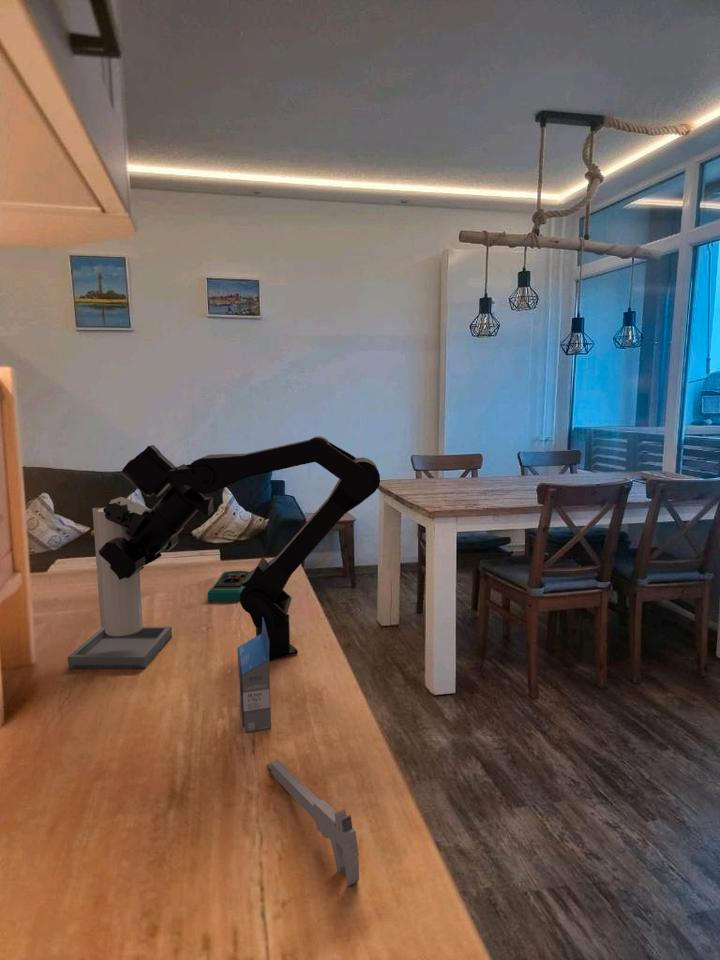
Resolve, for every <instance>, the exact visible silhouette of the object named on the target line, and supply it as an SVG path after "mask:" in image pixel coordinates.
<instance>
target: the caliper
mask: <svg viewBox="0 0 720 960" xmlns="http://www.w3.org/2000/svg"><path fill="white" fill-rule="evenodd" d="M266 766H267V767H268V769H269V770H270V772H271V774H272V776H273V777H274V779H275V780H276V781H277V782H278V783H279V784H280V785H281V786H282V788H284V789H285V790H286V791H287V792H288V793H289V794H290V796H291V797H292V798H293V799H294V800H295V801H296V802H297V803H298V804H299V805H300V806H301V807H302V808H303V809H304V810H305V811H306V813H308V815H310V817H311V818H312V819H313V820H314V821H315V828H316V830H317V832H320V833H321V835H322V836H323V837H324V838H326V839H327V838H328V839H329V840H330V842H331V847H332V852H333V856H334V861H335V866H336V869H337V872H338V874H339V875H340V876H342V875H343V874H345V880H346V885H347V886H351V885H354V884H355V883H357V882H360V865H359V863H360V859H359V847H358V840H357V833H356V829H354V827H353V823H352V816H351V814H349V815H347V814H346V810H345V808H344V809H341V810H339V811H336V810H335V809H334V808H333V807H332V806H331V805H330V804H329V803H327V802H326V801H325V800H324V799H323V798H321V799H319V798H318V797H317V796H316V795H315V794H314V793H313V792H312V791H311V790H310V788H308V787H307V786H306V785H305V784H304V783H303V782H302V781H301V780H300V779H298V777H296V775H295V774H293V772H292V771H290V769H288V768H287V767H286V766H285V765H284V764H283V763H282V762H281V761H280V760H279V759H275V760H273V761H270V762H267V764H266ZM341 874H342V875H341Z"/></svg>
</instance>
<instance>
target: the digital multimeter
mask: <svg viewBox="0 0 720 960" xmlns="http://www.w3.org/2000/svg"><path fill="white" fill-rule="evenodd" d="M248 572H249V571H248V570H247V571H246V570H231V571H230V570H229V571H224V572H222V573H221V575H220V577H219V578H218V580H217V581H216V582H215V584H213V586H212V587H211V588H210V589H209V591H207V601H208V602H240V593H241V591H242V590H243V588H244V586H242V583H243V581H244V579H245V578H246V576H247V574H248Z"/></svg>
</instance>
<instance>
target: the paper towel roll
mask: <svg viewBox="0 0 720 960" xmlns="http://www.w3.org/2000/svg"><path fill="white" fill-rule="evenodd" d="M106 507H107V506H106ZM106 507H92V521H93V533H94V534H93V535H94V549H95V561H96V562H95V563H96V564H95V565H96V575H97V589H98V590H97V591H98V601H99V602H98V605H99V619H100V620H99V621H100V622H99V623H100V627H101V628H102V627H105V633H106V634H107V635H109V636H125V635H130V634H134V633H136V632H138V631H140V630H141V629H142V628H143V626H144V622H143V621H144V620H143V605H142V592H141V575H140V571H139V572H137V573H136V574H134V575H133V576H131V577H130V578H123V579H121V580H119V578H118V576H117V575H116V574H115V573H114V572H113V571H112V570H111V569H110V566H111V565H110V564H109V563H108V562H107V561H106V560H105V559H104V558H103V557H102V556H100V555H99V550H100V549H101V548H102V547H103V546H104V545H105V543H107V542H109V541H111V540H113V539H114V538H120V537H124V538H125V539H126V540H128V541H129V540H131V539H133V537H130V536H129V535H128V534H127V533H125V531H126V530H127V529H128V528H126V527H123V526H121V525H119V524H116V523H114V522H112V521H109V520H107V519H106V518H105V513H104V512H103V509H104V508H106Z"/></svg>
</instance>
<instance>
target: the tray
mask: <svg viewBox="0 0 720 960" xmlns="http://www.w3.org/2000/svg"><path fill="white" fill-rule="evenodd" d="M171 638H173V629H172V626H169V625H168V626H165V625H164V626H158V625H157V626H152V625H150V626H145V625H143V628H142V629H141V630H140V631H138V632H136V633H134V634H130V635H125V636H109V635H107V634H106V633H105V627H101V628H100V629H99V630H98V631H96V632H95V633H94V634H92V635H91V636H90V637H89V638H88V639H87V640H86V641H84V642H83V643H82V644H81V645H79V646H78V648H76V649H75V650H74V651H73V652H71V653H70V654H69V655H68V656H67V665H68V666H67V667H68V669H72V670H73V669H74V670H75V669H76V670H77V669H79V670H81V669H84V670H86V669H88V670H89V669H90V670H91V669H92V670H94V669H97V670H118V669H119V670H122V669H123V670H146V668H147V667H148V666H149V665H150V664H151V663H152V662H153V660H154V659H155V658H156V657H157V656H158V654H159V653H160V652H161V651H162V650H163V648H164V647H165V646H166V645H167V644H168V642H169V641H170V640H171Z"/></svg>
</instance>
